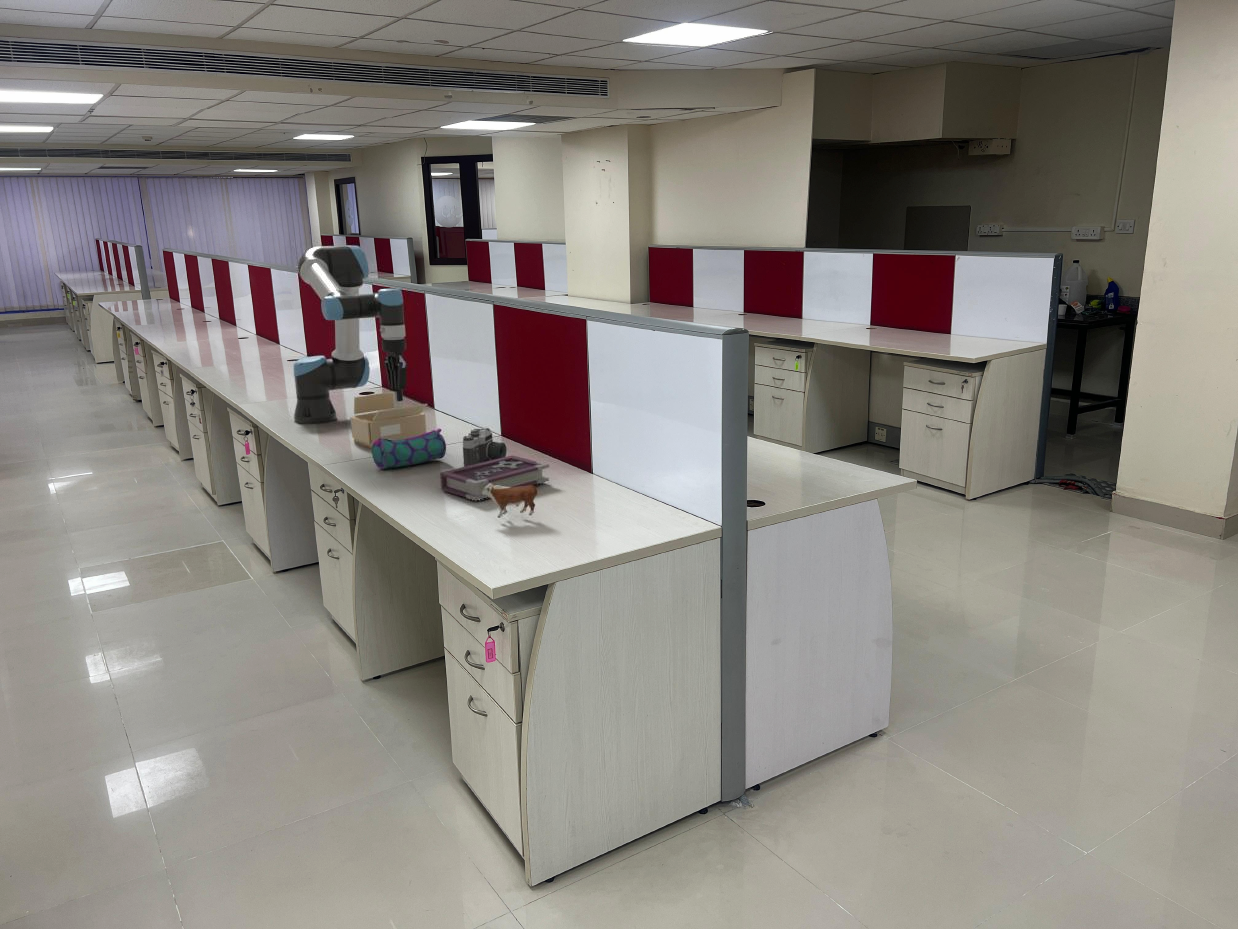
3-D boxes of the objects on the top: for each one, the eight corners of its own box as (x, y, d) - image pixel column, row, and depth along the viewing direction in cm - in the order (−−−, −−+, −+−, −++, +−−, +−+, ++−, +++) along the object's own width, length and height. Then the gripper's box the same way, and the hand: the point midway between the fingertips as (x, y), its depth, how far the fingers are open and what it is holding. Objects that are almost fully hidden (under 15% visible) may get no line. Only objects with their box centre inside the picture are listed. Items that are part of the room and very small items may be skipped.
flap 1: (354, 413, 296) (354, 397, 294) (401, 406, 307) (401, 390, 304) (354, 414, 296) (354, 397, 293) (401, 407, 307) (402, 391, 304)
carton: (351, 442, 298) (349, 416, 295) (407, 432, 310) (405, 407, 308) (371, 450, 287) (368, 423, 284) (428, 439, 299) (426, 413, 297)
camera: (492, 470, 260) (490, 436, 257) (461, 468, 263) (458, 435, 260) (512, 457, 275) (510, 425, 272) (482, 455, 277) (480, 424, 275)
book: (476, 501, 231) (475, 483, 230) (440, 490, 242) (439, 472, 241) (549, 481, 248) (549, 464, 247) (513, 471, 259) (512, 454, 258)
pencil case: (384, 472, 259) (381, 441, 257) (372, 467, 266) (369, 435, 264) (448, 461, 271) (446, 430, 269) (435, 455, 278) (433, 425, 276)
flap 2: (421, 413, 296) (427, 404, 291) (373, 420, 285) (378, 412, 281) (420, 411, 296) (427, 403, 291) (372, 419, 285) (378, 410, 281)
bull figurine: (483, 513, 220) (481, 481, 218) (538, 510, 221) (536, 479, 219) (482, 518, 216) (480, 486, 213) (538, 516, 217) (536, 484, 214)
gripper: (373, 337, 285) (379, 409, 291) (391, 341, 276) (397, 415, 282) (395, 335, 290) (400, 405, 296) (413, 338, 280) (418, 411, 286)
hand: (399, 410), depth 289 cm, fingers closed
